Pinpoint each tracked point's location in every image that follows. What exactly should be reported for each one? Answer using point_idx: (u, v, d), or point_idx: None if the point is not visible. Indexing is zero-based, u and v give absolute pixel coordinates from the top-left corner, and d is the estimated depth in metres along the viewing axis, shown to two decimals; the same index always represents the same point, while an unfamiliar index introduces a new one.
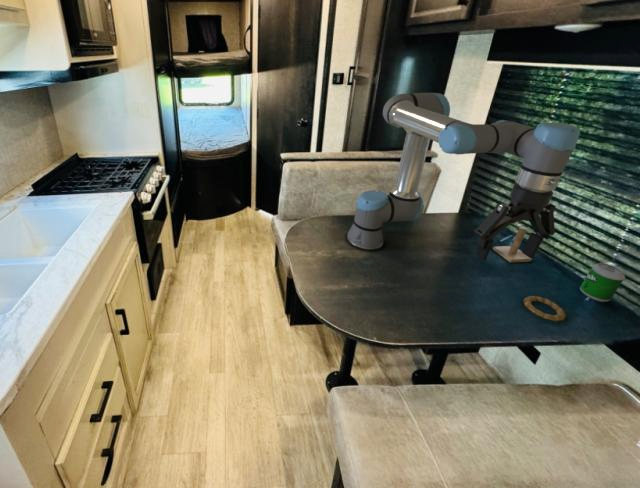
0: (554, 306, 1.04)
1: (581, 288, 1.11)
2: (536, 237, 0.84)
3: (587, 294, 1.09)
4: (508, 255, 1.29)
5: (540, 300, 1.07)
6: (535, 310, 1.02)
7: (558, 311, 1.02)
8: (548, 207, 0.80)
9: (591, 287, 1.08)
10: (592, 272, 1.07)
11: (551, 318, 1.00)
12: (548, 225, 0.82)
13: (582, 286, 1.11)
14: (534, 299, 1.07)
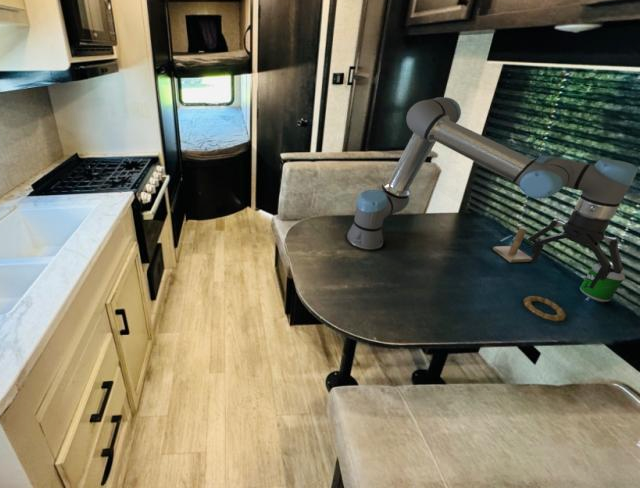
0: (554, 306, 1.04)
1: (581, 288, 1.11)
2: (599, 269, 0.89)
3: (587, 294, 1.09)
4: (508, 255, 1.29)
5: (540, 300, 1.07)
6: (535, 310, 1.02)
7: (558, 311, 1.02)
8: (610, 241, 0.86)
9: None
10: (592, 272, 1.07)
11: (551, 318, 1.00)
12: None
13: (582, 286, 1.11)
14: (534, 299, 1.07)
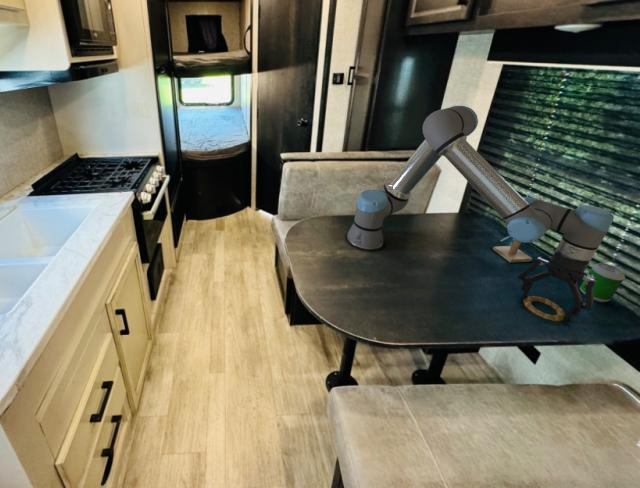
0: (554, 306, 1.04)
1: (581, 288, 1.11)
2: None
3: None
4: (508, 255, 1.29)
5: (540, 300, 1.07)
6: (535, 310, 1.02)
7: (558, 311, 1.02)
8: (589, 281, 0.93)
9: None
10: (592, 272, 1.07)
11: (551, 318, 1.00)
12: None
13: (582, 286, 1.11)
14: (534, 299, 1.07)
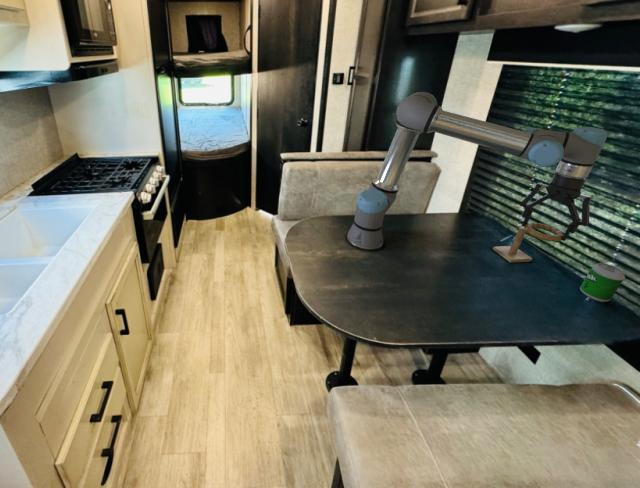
0: (553, 229, 1.12)
1: (581, 288, 1.11)
2: (570, 223, 1.05)
3: (587, 294, 1.09)
4: (508, 255, 1.29)
5: (540, 226, 1.14)
6: (535, 232, 1.10)
7: (557, 233, 1.10)
8: (585, 198, 1.00)
9: (591, 287, 1.08)
10: (592, 272, 1.07)
11: (550, 237, 1.07)
12: (582, 215, 1.02)
13: (582, 286, 1.11)
14: (535, 225, 1.15)
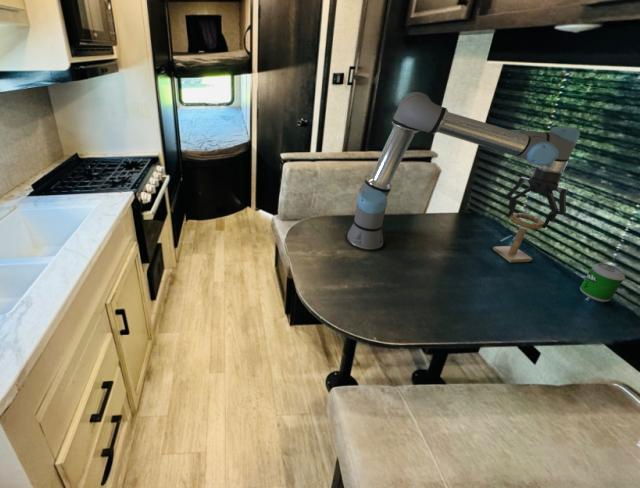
0: (535, 219, 1.24)
1: (581, 288, 1.11)
2: None
3: (587, 294, 1.09)
4: (508, 255, 1.29)
5: (524, 215, 1.27)
6: (519, 221, 1.23)
7: (538, 221, 1.22)
8: (561, 190, 1.13)
9: (591, 287, 1.08)
10: (592, 272, 1.07)
11: (532, 225, 1.20)
12: None
13: (582, 286, 1.11)
14: (519, 215, 1.27)
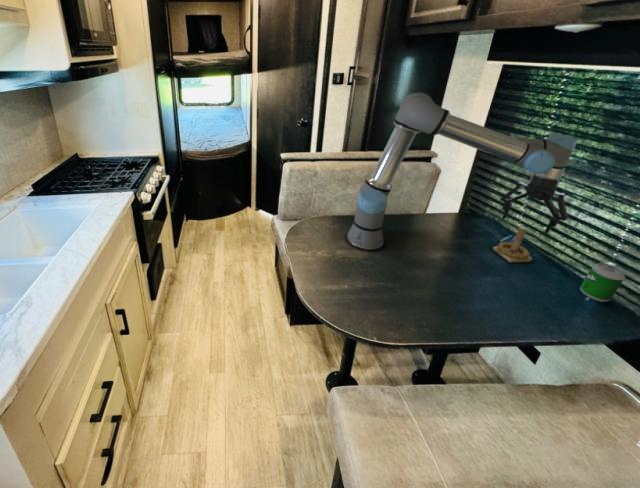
0: (521, 248, 1.30)
1: (581, 288, 1.11)
2: (551, 218, 1.17)
3: (587, 294, 1.09)
4: None
5: (510, 245, 1.33)
6: (506, 251, 1.29)
7: (524, 251, 1.29)
8: (559, 196, 1.14)
9: (591, 287, 1.08)
10: (592, 272, 1.07)
11: (518, 256, 1.26)
12: None
13: (582, 286, 1.11)
14: (506, 244, 1.33)
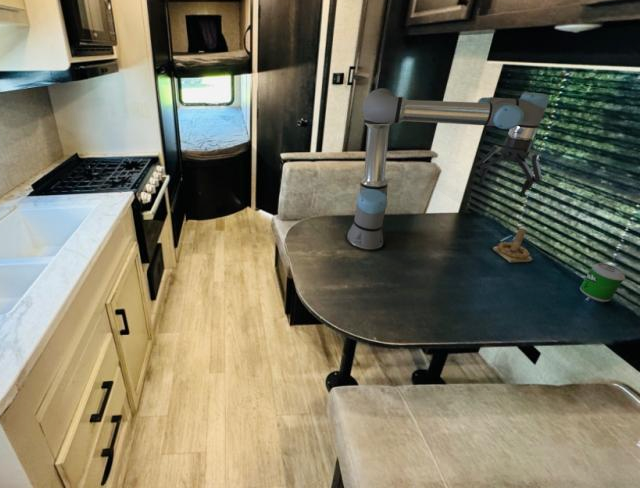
0: (521, 248, 1.30)
1: (581, 288, 1.11)
2: (526, 180, 1.16)
3: (587, 294, 1.09)
4: None
5: (510, 245, 1.33)
6: (506, 251, 1.29)
7: (524, 251, 1.29)
8: None
9: (591, 287, 1.08)
10: (592, 272, 1.07)
11: (518, 256, 1.26)
12: None
13: (582, 286, 1.11)
14: (506, 244, 1.33)
